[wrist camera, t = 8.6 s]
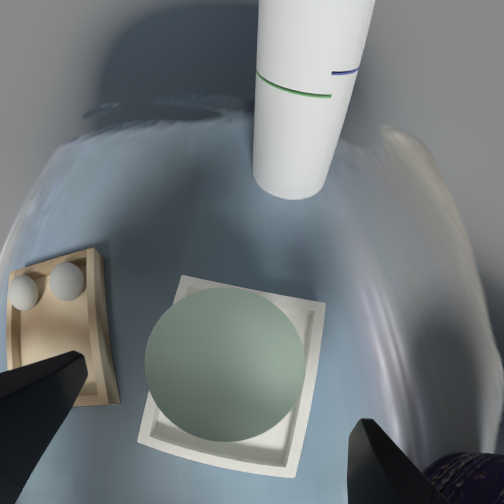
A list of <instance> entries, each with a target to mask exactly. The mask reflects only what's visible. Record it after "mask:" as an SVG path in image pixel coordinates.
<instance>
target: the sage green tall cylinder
mask: <svg viewBox="0 0 504 504" xmlns="http://www.w3.org/2000/svg"><path fill="white" fill-rule="evenodd" d="M144 370H145V378H146V382H147V385H148V389H149V391H150V393H151V396H152V398H153V400H154V401H155V403H156V405H157V407H158V408H159V409H160V410H161V412H162V413H163V414H164V415H165V416H166V417H167V418H168V419H169V420H170V421H171V422H172V423H173V424H175V425H176V426H177V427H179V428H180V429H182V430H183V431H185V432H187V433H189V434H191V435H193V436H196V437H198V438H201V439H205V440H209V441H216V442H236V441H242V440H246V439H250V438H253V437H256V436H258V435H260V434H263V433H265V432H266V431H268V430H270V429H271V428H273V427H274V426H275V425H277V424H278V423H279V422H280V421H281V420H282V419H283V418H284V417H285V416H286V415H287V414H288V413H289V412H290V410H291V409H292V407H293V406H294V404H295V403H296V401H297V399H298V397H299V395H300V392H301V389H302V386H303V382H304V376H305V355H304V350H303V346H302V342H301V340H300V337H299V335H298V333H297V331H296V329H295V327H294V325H293V324H292V322H291V321H290V320H289V318H288V317H287V316H286V315H285V314H284V313H283V312H282V311H281V310H280V309H279V308H278V307H277V306H276V305H274V304H273V303H272V302H270V301H269V300H267V299H265V298H264V297H262V296H259V295H257V294H255V293H252V292H249V291H246V290H242V289H237V288H227V287H221V288H211V289H205V290H201V291H198V292H195V293H193V294H190V295H188V296H186V297H184V298H182V299H181V300H179V301H177V302H176V303H175V304H173V305H172V306H171V307H170V308H169V309H168V310H167V311H166V312H165V313H164V314H163V315H162V316H161V317H160V319H159V320H158V321H157V323H156V324H155V326H154V328H153V329H152V332H151V334H150V336H149V339H148V342H147V346H146V350H145V357H144Z"/></svg>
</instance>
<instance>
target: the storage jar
mask: <svg viewBox="0 0 504 504" xmlns="http://www.w3.org/2000/svg"><path fill="white" fill-rule="evenodd" d="M422 474H423V475H424V476H425V477H426V478H427V479H428V480H429V481H430V482H431V484H432V485H433V486H434V488H436V489H437V490H438V491H439V492H440V493H441V494H442V495H443V496H444V497H445V498H446V499H447V500H448V501H449V502H450V503H451V504H504V455H500V454H490V453H474V454H468V453H461V452H459V453H452V454H448V455H446V456H444V457H442V458H440V459H438V460H437V461H435V462H434V463H432V464H431V465H430V466H428V467H427V468H426V469H425V470H424V471H423V472H422Z"/></svg>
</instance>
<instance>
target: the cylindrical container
mask: <svg viewBox="0 0 504 504" xmlns="http://www.w3.org/2000/svg"><path fill="white" fill-rule="evenodd" d="M374 3H375V0H259V17H258V41H257V64H256V67H257V69H256V89H255V115H254V141H253V176H254V179H255V181H256V182H257V184H258V185H259V186H260V187H261V188H262V189H263V190H265V191H266V192H268V193H269V194H271V195H273V196H276V197H279V198H283V199H288V200H299V199H305V198H308V197H311V196H313V195H315V194H316V193H318V192H319V191H320V190H321V188H322V187H323V185H324V182H325V179H326V176H327V173H328V170H329V167H330V164H331V161H332V158H333V154H334V151H335V148H336V145H337V142H338V139H339V135H340V132H341V129H342V125H343V122H344V118H345V115H346V112H347V108H348V105H349V101H350V98H351V94H352V90H353V87H354V83H355V80H356V76H357V72H358V68H359V64H360V61H361V56H362V52H363V49H364V45H365V41H366V37H367V33H368V29H369V25H370V21H371V16H372V12H373V7H374Z"/></svg>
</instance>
